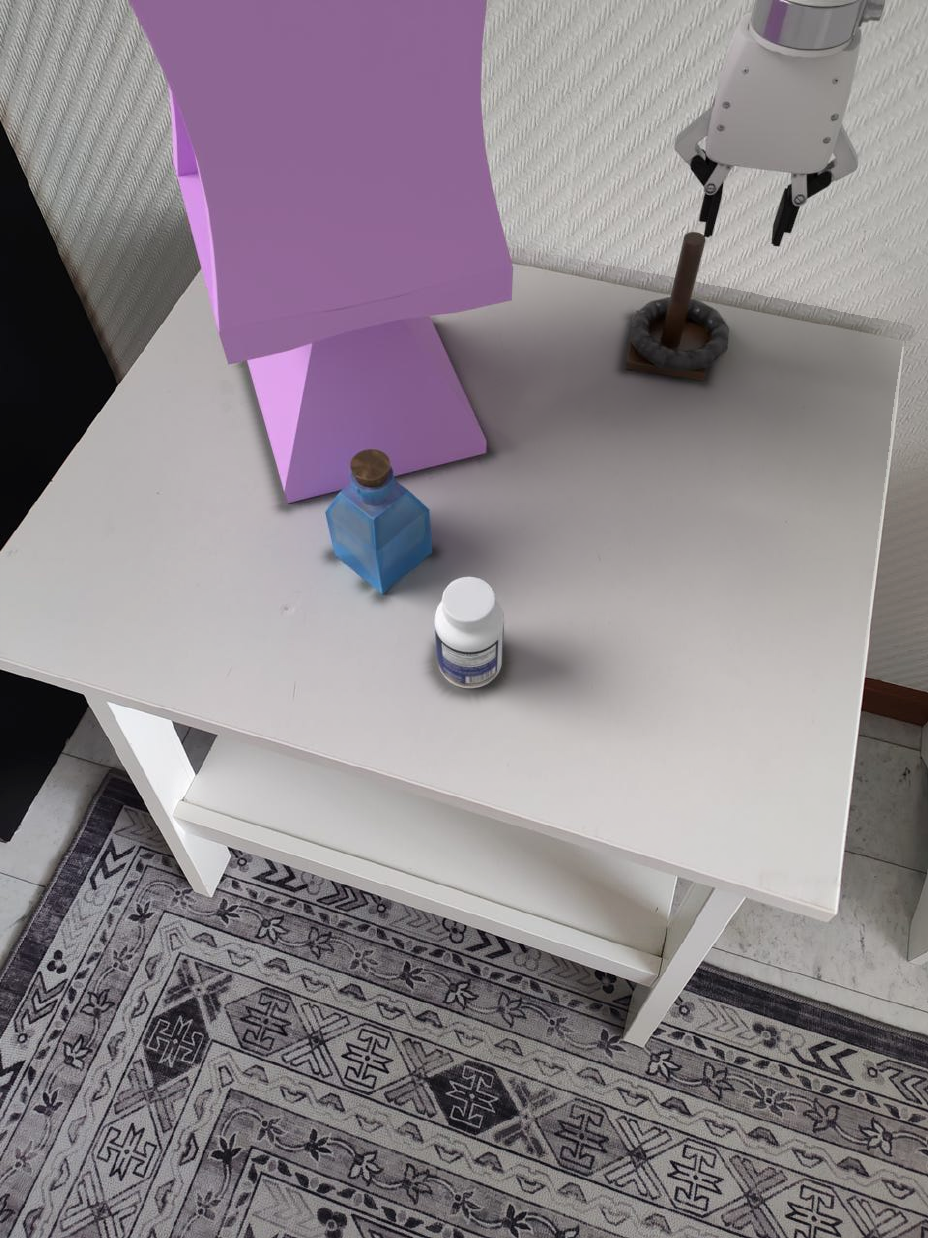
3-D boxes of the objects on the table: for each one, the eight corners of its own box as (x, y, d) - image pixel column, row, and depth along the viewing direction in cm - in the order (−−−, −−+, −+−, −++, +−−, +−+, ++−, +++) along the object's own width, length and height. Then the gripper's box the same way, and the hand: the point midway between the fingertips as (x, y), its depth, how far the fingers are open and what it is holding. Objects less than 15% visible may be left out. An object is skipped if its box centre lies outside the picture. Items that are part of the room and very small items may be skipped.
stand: (710, 328, 94) (741, 217, 83) (703, 380, 90) (735, 271, 79) (635, 317, 95) (656, 206, 84) (625, 368, 91) (646, 259, 80)
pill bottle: (452, 625, 75) (449, 558, 67) (511, 645, 74) (516, 581, 66) (427, 677, 73) (420, 615, 64) (487, 699, 72) (489, 639, 63)
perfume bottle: (432, 552, 79) (426, 462, 69) (382, 594, 77) (368, 508, 67) (384, 514, 82) (371, 422, 71) (334, 555, 79) (314, 465, 69)
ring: (729, 315, 94) (733, 299, 92) (722, 381, 89) (727, 366, 87) (634, 302, 95) (637, 287, 93) (623, 367, 90) (626, 351, 88)
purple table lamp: (232, 357, 93) (61, -210, 54) (436, 311, 96) (410, -253, 58) (276, 518, 82) (99, -53, 43) (504, 459, 85) (530, -117, 47)
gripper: (926, -3, 65) (839, 219, 81) (692, -25, 68) (652, 195, 83) (930, 49, 62) (838, 271, 77) (682, 23, 64) (642, 245, 79)
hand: (742, 230), depth 80 cm, fingers open, 5 cm apart
